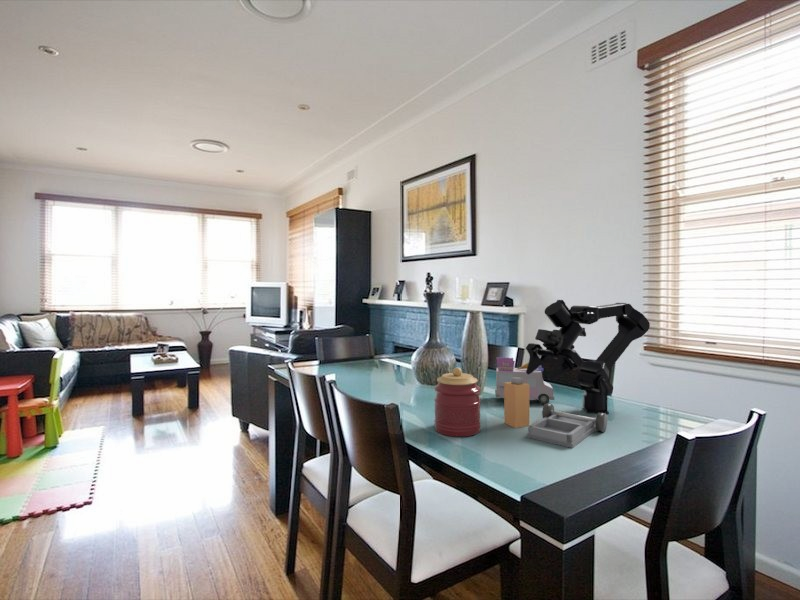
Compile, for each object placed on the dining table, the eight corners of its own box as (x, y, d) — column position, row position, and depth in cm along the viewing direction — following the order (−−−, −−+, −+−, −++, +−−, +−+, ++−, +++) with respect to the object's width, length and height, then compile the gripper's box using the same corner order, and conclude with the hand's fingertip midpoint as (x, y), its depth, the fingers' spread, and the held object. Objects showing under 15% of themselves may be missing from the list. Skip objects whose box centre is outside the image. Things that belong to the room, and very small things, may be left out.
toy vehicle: (554, 406, 144) (554, 361, 144) (495, 403, 148) (495, 360, 148) (550, 399, 153) (550, 357, 153) (495, 396, 157) (495, 356, 157)
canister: (442, 420, 129) (441, 362, 128) (485, 425, 124) (484, 365, 123) (428, 434, 117) (427, 369, 116) (475, 440, 112) (475, 373, 111)
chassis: (550, 417, 131) (550, 401, 131) (608, 428, 120) (608, 411, 120) (518, 435, 115) (518, 416, 115) (582, 450, 104) (582, 429, 104)
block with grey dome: (517, 420, 128) (517, 375, 128) (529, 425, 124) (529, 379, 123) (504, 423, 126) (504, 377, 126) (515, 427, 122) (515, 380, 121)
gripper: (530, 318, 138) (502, 354, 134) (575, 321, 121) (545, 363, 117) (548, 341, 141) (522, 377, 137) (595, 347, 125) (567, 389, 120)
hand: (537, 376), depth 128 cm, fingers open, 9 cm apart
